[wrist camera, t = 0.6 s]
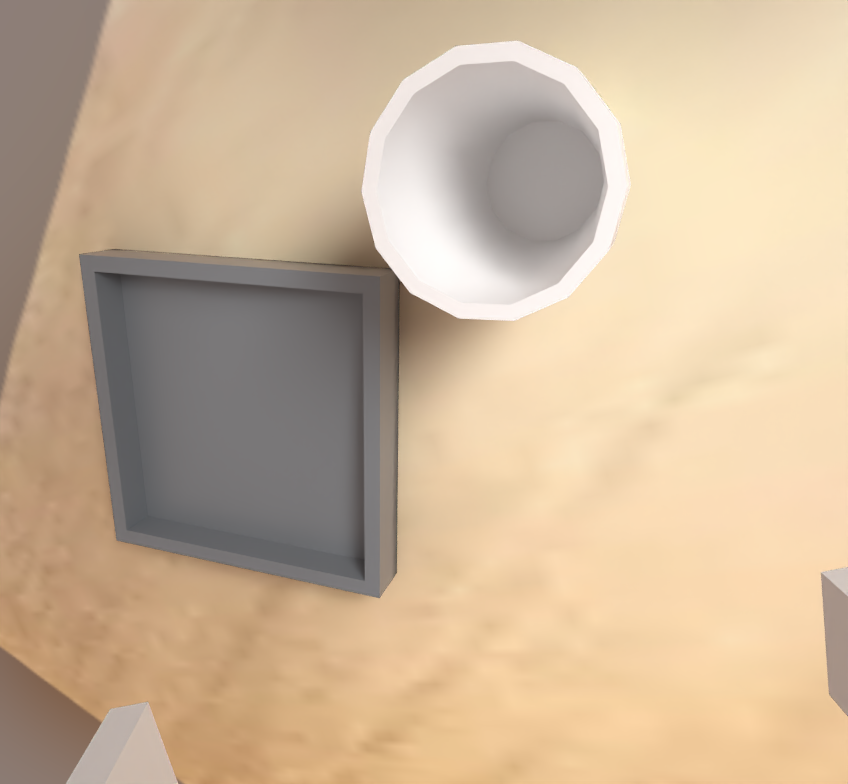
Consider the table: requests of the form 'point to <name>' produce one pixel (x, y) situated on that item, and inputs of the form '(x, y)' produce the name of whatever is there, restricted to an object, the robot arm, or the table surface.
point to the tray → (250, 410)
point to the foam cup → (495, 181)
